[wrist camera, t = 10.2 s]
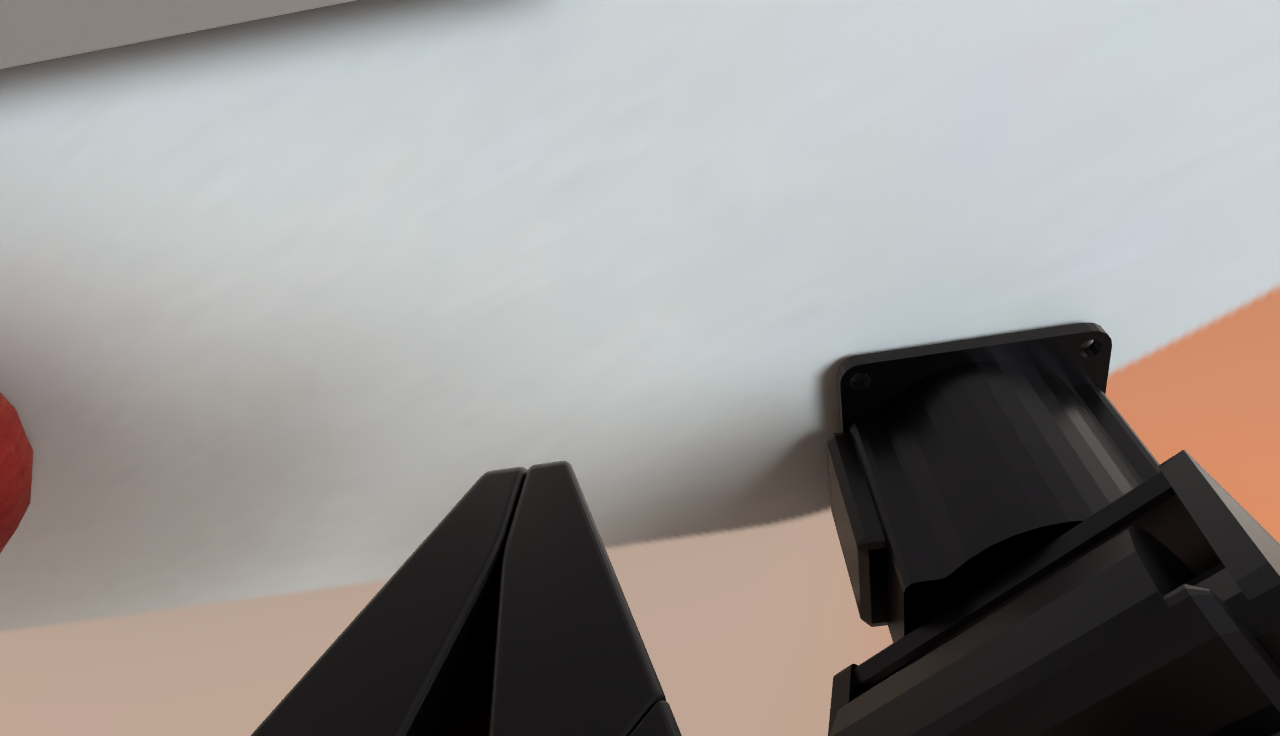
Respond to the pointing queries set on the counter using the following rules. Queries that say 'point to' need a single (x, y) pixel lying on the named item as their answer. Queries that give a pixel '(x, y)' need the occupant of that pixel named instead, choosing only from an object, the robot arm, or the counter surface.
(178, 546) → the counter surface
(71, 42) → the fader console
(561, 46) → the counter surface
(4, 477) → the onion
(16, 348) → the counter surface
